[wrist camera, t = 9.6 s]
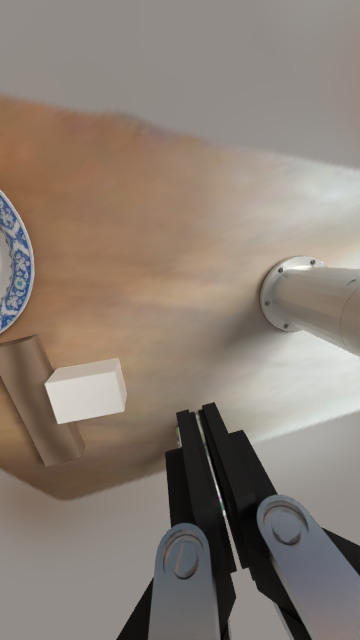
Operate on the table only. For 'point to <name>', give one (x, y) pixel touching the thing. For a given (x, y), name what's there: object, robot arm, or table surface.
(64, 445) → the plank
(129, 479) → the table surface
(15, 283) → the ceramic plate
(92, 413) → the block
